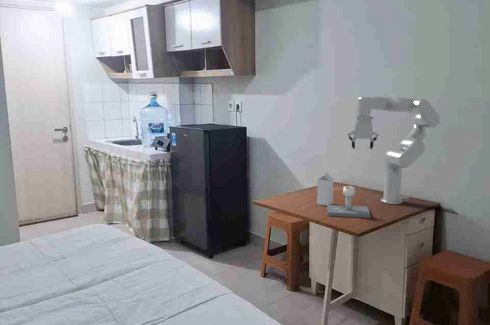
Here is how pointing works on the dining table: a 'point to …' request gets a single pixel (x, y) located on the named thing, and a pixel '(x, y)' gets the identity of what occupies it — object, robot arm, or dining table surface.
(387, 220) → the dining table surface
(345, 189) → the white rounded lump
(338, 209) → the post stand
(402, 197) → the robot arm
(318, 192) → the milk carton
